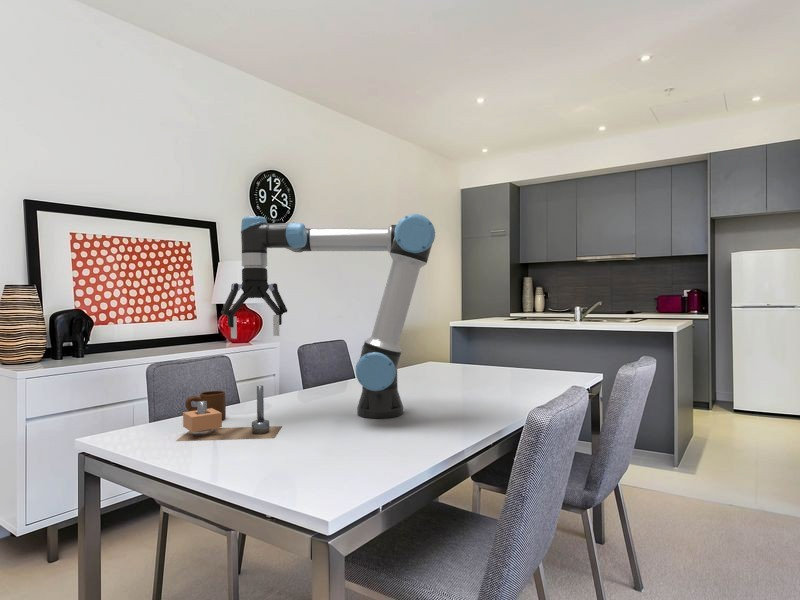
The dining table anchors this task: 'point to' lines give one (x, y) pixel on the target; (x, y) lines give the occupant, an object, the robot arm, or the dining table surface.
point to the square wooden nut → (202, 420)
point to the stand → (260, 415)
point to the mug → (210, 401)
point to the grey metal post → (202, 410)
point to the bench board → (232, 434)
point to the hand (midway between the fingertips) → (255, 337)
